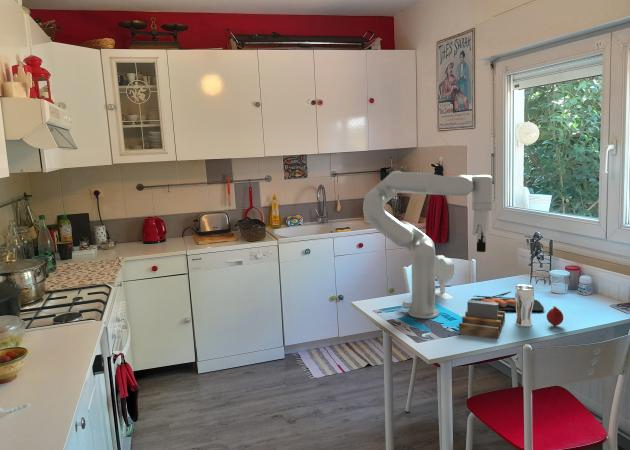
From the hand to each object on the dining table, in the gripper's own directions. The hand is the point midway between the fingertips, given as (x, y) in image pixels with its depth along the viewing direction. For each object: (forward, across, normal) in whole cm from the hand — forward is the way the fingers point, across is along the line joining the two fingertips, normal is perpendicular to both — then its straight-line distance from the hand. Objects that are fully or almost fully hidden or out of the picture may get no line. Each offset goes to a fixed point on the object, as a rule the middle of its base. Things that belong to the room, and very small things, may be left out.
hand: (481, 251), depth 209 cm
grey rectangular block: (+26, +13, +3) cm, 29 cm away
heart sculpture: (+27, -24, -21) cm, 42 cm away
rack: (+27, +13, +3) cm, 30 cm away
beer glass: (+27, +4, +17) cm, 32 cm away
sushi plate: (+28, -23, +6) cm, 37 cm away
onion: (+27, +2, +28) cm, 39 cm away
